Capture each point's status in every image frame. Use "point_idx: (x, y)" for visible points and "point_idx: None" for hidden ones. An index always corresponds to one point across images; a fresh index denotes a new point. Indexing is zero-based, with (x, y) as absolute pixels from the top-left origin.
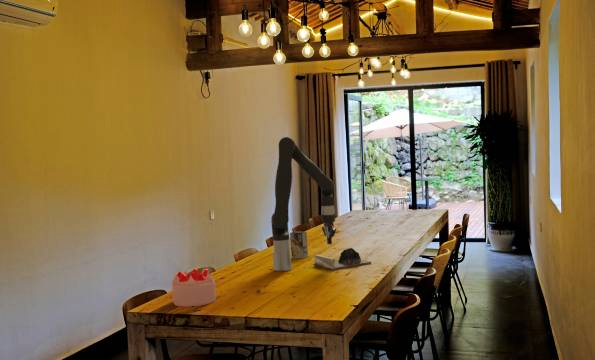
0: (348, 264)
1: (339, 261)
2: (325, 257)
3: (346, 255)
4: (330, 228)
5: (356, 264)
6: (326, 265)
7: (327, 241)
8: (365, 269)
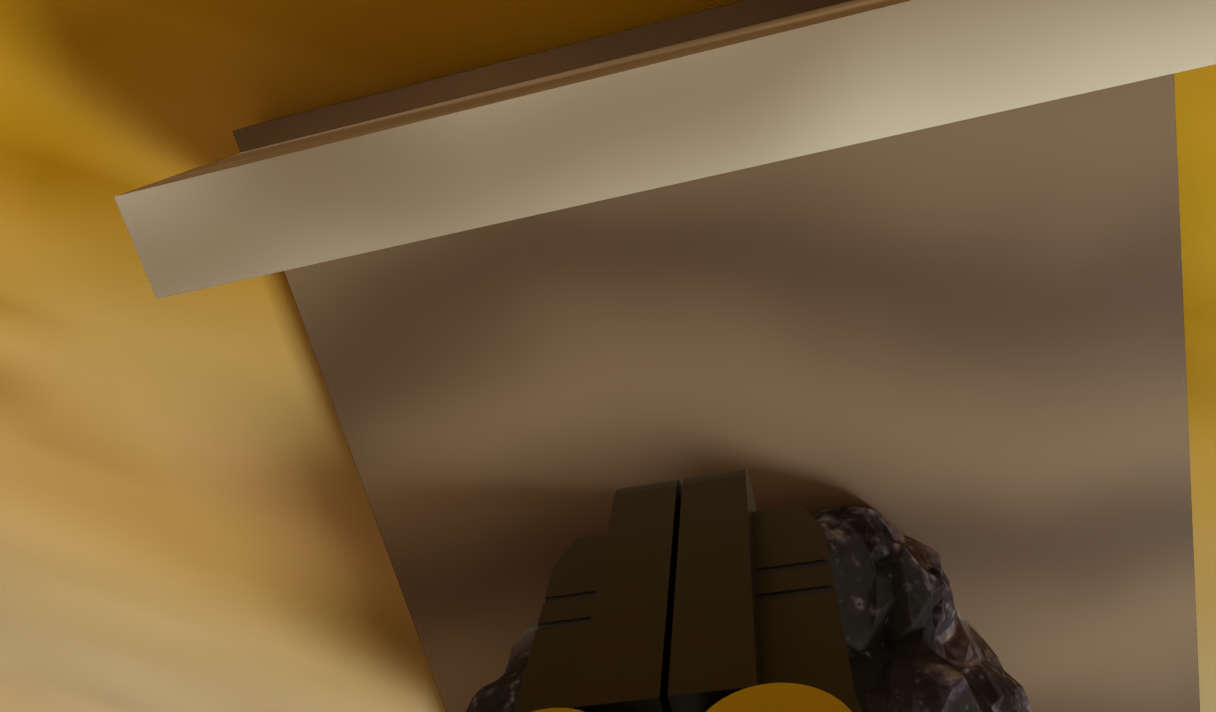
0: (496, 575)
1: (820, 518)
2: (524, 126)
3: (516, 695)
4: None
5: (442, 690)
6: (491, 91)
7: (706, 537)
8: (106, 674)
